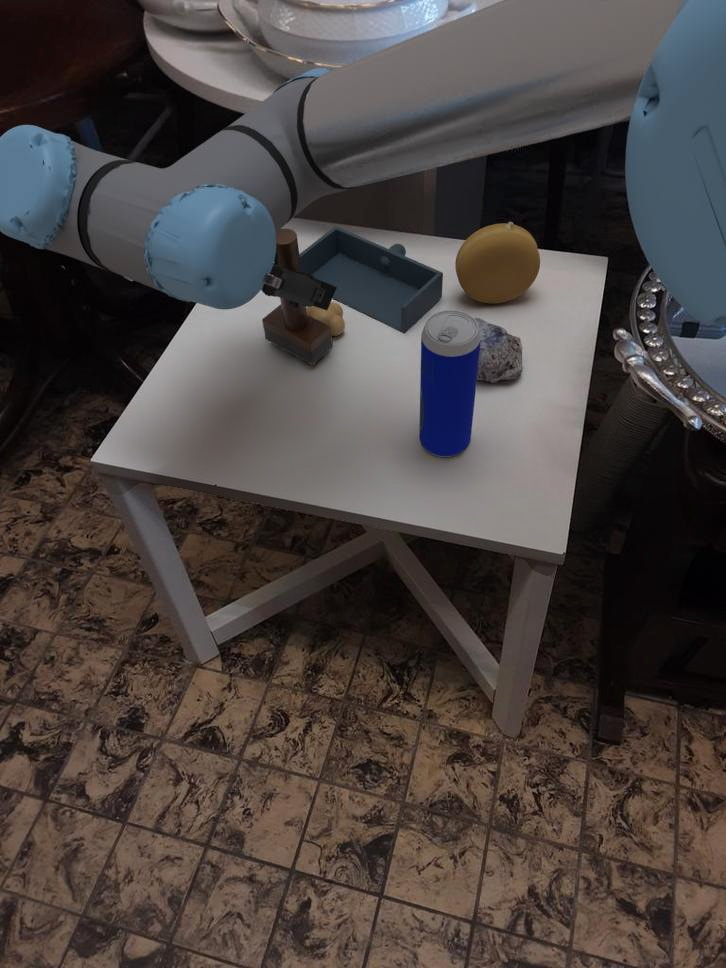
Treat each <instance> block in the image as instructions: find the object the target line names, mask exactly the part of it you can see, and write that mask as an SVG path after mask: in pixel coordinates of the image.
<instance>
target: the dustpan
mask: <svg viewBox="0 0 726 968" xmlns="http://www.w3.org/2000/svg"><path fill="white" fill-rule="evenodd" d="M406 254H407V250H406V248H405V246H404V245H403V244H401V243H394V244H393V245H391V246H390V247H389V248H388V247H385V246H383V245H380V244H378V243H375V242H374V241H371V240H369V239H367V238H364V237H362V236H361V235H357V234H356V233H352V232H350V231H349V230H345V229H344V228H342V227H339V226H337V225H335V226H334V227H332V228H331V229H330V230H328V231H327V232H326V233H324V235H322V236H321V237H319V238H318V239H317V240H315V241H314V242H313V243H312V244H310V245H309V246H308V247H306V248H305V249H303V250H302V251H301V252H299V256H300V263H301V271H303V272H305V273H308V274H310V275H312V276H314V278H316V279H319V280H321V281H324V282H326V283H329V284H331V285H333V286H335V287H337V289H336V291H335V293H334V296H333V298H332V300H335V301H337V302H339V303H342V304H343V305H346V306H348V307H349V308H351V309H354V310H356V311H358V312H360V313H362V314H364V315H366V316H368V317H370V318H372V319H374V320H376V321H378V322H380V323H382V324H385V325H387V326H388V327H391V328H393V329H395V330H397V331H399V332H401V333H403V334H406V333H407V332H408V331H409V330H410V329H411V328H412V327H413V326H414V325H416V324H417V322H418V321H419V320H421V318H423V317H424V316H425V315H426V314H427V313H428V312H429V311H430V310H431V309H432V308H433V307H434V306H435V305H437V303H439V301H440V300H441V299H442V297H443V284H444V283H443V280H444V272H442V271H440V270H438V269H435V268H433V267H431V266H429V265H426V264H424V263H422V262H419V261H417V260H415V259H413V258H410V257H408V256H406Z"/></svg>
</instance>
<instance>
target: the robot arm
mask: <svg viewBox="0 0 726 968" xmlns="http://www.w3.org/2000/svg"><path fill="white" fill-rule="evenodd" d="M625 122H628V123H629V125H628V129H627V135H626V147H625V159H624V160H625V162H624V163H625V164H624V171H625V173H624V174H625V175H624V177H625V188H626V197H627V203H628V204H627V205H628V210H629V214H630V218H631V222H632V225H633V229H634V232H635V235H636V238H637V240H638V243H639V245H640V248H641V250H642V252H643V255H644V257H645V258H646V260H647V262H648V264H649V266H650V268H651V269H652V271H653V273H654V274H655V275H656V277H657V279H658V281H660V283H661V284H662V285H663V287H664V288H665V290H666V291H667V292H668V293H669V295H671V297H672V298H673V299H674V300H675V301H676V303H678V304H679V305H680V306H681V307H682V308H683V310H685V311H686V313H688V314H690V315H691V316H692V317H693V318H694V319H696V320H697V321H698V322H699V323H700V324H701V325H703V326H705V327H711V326H712V325H713V324H714V323H715V324H719V325H721V326H724V327H726V0H500V1H498V2H495V3H492V4H490V5H487V6H485V7H483V8H480V9H477V10H476V11H473V12H471V13H468V14H466V15H463V16H460V17H458V18H456V19H453V20H451V21H449V22H447V23H444V24H441V25H439V26H437V27H434V28H432V29H429V30H426V31H424V32H422V33H420V34H419V33H418V34H417V35H414V36H412V37H409V38H408V39H404V40H402V41H400V42H398V43H395V44H393V45H390V46H388V47H385V48H382V49H380V50H378V51H375V52H373V53H371V54H369V55H365V56H364V57H361V58H359V59H356V60H354V61H351V62H348V63H346V64H343V65H342V66H338V67H337V68H334V69H327V68H325V67H318V68H313V69H309V70H307V71H306V72H303V73H302V74H300V75H298V76H295V77H293V78H290V79H289V80H288V81H286V82H284V83H282V84H281V85H279V86H278V87H277V88H275V89H274V90H273V92H272V93H271V94H270V95H269V96H267V97H266V98H265V99H263V100H262V101H261V102H259V103H258V104H257V105H256V106H254V107H252V108H251V109H250V110H249V111H247V112H246V113H244V114H243V115H242V116H240V117H239V118H237V119H236V120H235V121H233V122H232V123H231V124H229V125H228V126H225V127H224V128H223V129H221V130H220V131H219V132H217V133H216V134H214V135H212V136H211V137H210V138H208V139H207V140H205V141H204V142H202V143H201V144H200V145H198V146H197V147H196V148H194V149H193V150H191V151H190V152H188V153H187V154H186V155H184V156H182V157H181V158H180V159H178V160H176V161H175V162H174V163H173V164H171V165H170V166H168V167H163V168H160V167H156V166H153V165H148V164H146V163H141V162H138V161H134V160H130V159H126V158H123V157H119V156H116V155H112V154H108V153H106V152H102V151H99V150H96V149H92V148H90V147H88V146H85V145H84V144H83V145H82V144H80V143H78V142H75V141H74V140H72V139H71V137H70V136H67V135H65V134H63V133H56V132H53V131H50V130H48V129H45V128H42V127H40V126H37V125H32V124H22V125H18V126H17V125H16V126H14V127H12V128H10V129H9V130H7V131H6V132H4V133H3V134H2V135H1V136H0V232H1V233H2V234H3V235H5V236H7V237H9V238H12V239H14V240H17V241H20V242H23V243H26V244H29V246H30V247H34V248H35V249H38V250H47V251H52V252H54V253H57V254H62V255H64V256H67V257H70V258H73V259H74V260H75V259H76V260H78V261H81V262H84V263H86V264H88V265H90V266H93V267H97V268H99V269H101V270H104V271H107V272H112V273H115V274H117V275H120V276H122V277H123V278H124V279H125V280H126V281H129V282H137V283H140V284H142V285H145V286H147V287H150V288H152V289H154V290H156V291H160V292H162V293H165V294H166V295H167V296H168V297H172V298H173V299H177V300H179V301H181V302H188V303H190V302H191V303H194V304H199V305H203V306H206V307H210V308H212V309H217V310H233V309H237V308H240V307H242V306H244V305H246V304H247V303H249V302H250V301H252V300H253V299H254V298H255V297H256V296H257V295H258V294H259V293H260V292H262V293H263V294H264V295H265V296H267V297H274V298H275V297H276V298H279V299H280V298H283V299H287V300H290V303H289V304H290V305H292V306H294V307H296V308H298V309H299V306H300V304H303V305H304V306H306V308H307V307H308V306H309V307H312V306H315V307H318V308H321V309H324V310H328V308H329V305H330V303H331V302H332V300H333V296H334V293H335V291H336V289H337V287H335V286H333V285H331V284H329V283H326V282H324V281H321V280H319V279H316V278H314V276H312V275H310V274H308V273H305V272H303V271H302V273H301V272H299V273H296V272H294V271H291V270H289V269H286V268H284V267H282V266H279V265H277V264H274V260H275V254H276V232H277V231H279V230H280V229H283V227H285V226H286V224H288V223H289V222H290V221H292V219H294V218H295V217H296V216H297V215H298V214H300V213H301V212H302V211H304V209H305V208H307V207H308V206H309V205H310V204H311V203H313V202H315V201H316V200H318V199H320V198H322V197H324V196H328V195H333V194H336V193H340V192H344V191H349V190H353V189H357V188H359V187H362V186H367V185H370V184H375V183H378V182H383V181H387V180H391V179H395V178H398V177H399V178H400V177H403V176H407V175H411V174H416V173H418V172H423V171H427V170H432V169H436V168H440V167H444V166H448V165H453V164H457V163H460V162H461V163H462V162H465V161H469V160H473V159H477V158H480V157H485V156H488V155H493V154H497V153H501V152H505V151H509V150H513V149H514V150H515V149H517V148H521V147H525V146H530V145H535V144H538V143H543V142H547V141H550V140H554V139H559V138H563V137H567V136H571V135H575V134H578V133H584V132H587V131H592V130H596V129H600V128H604V127H608V126H613V125H616V124H620V123H625Z"/></svg>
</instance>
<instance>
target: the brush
mask: <svg viewBox="0 0 726 968" xmlns="http://www.w3.org/2000/svg"><path fill="white" fill-rule="evenodd" d="M298 242H299V241H298V235H297V232H296V231H295V230H294V229H291V228H281V229H280V230H279V231H277V232H276V254H275V260H274V264H277V265H279V266H282V267H284V268H286V269H289V270H291V271H294V272H296V273H299V272H301V273H302V271H301V263H300V256H299V254H300V250H299V249H300V248H299V243H298ZM279 300H280V304H279V305H278V306H277V307H275V308H274V309H273V310H272V311H270V312H269V313H268V314H267V315H266V316H264V317H263V318H262V319H261V321H262V327H263V332H264V337H265V340H266V341H268V342H269V343H271V344H273V345H275V346H277V347H278V348H280V349H282V350H285V351H286V352H288V353H290V354H291V355H293V356H295V357H298V358H299V359H301V360H302V361H304V362H306V363H308V364H311V365H314V364H315V363H317V362H318V361H319V360H320V359H321V358H322V357H324V356H325V355H326V354H327V353H328V352H329V351H331V349H333V347H334V345H333V336H332V333H331V326H329V325H327V324H325V323H323V322H321V321H319V320H317V319H315V318H313V317H311V316H309V315H307V310H306V308H307V307H306V306H304V305H303V304H300V306H299V309H298V308H296V307H294V306H292V305H290V304H289V303H290V300H287V299H283V298H280V297H279Z"/></svg>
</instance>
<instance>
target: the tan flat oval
mask: <svg viewBox="0 0 726 968" xmlns="http://www.w3.org/2000/svg"><path fill="white" fill-rule="evenodd" d="M454 267H455V273H456V277H457V279H458V283H459V285H460V288H461V290H463V292H464V293H465V294H466V295H467V296H468V297H470V298H471V299H473V300H475V301H477V302H479V303H483V304H500V303H505V302H509V301H512V300H514V299H516V298H518V297H520V296H521V295H523V294H524V293H525V292H526V291H527V290H528V289H530V287H531V286H532V285H533V283H534V282H535V281H536V279H537V277H538V275H539V272H540V269H541V255H540V252H539V248H538V244H537V242H536V240H535V238H534V237H533V235H532V234H531V233H530V232H529V231H528V230H526V229H525V228H524V227H522V226H519V225H517V224H514V222H512V221H508V223H505V222H504V223H494V224H491V225H487V226H485V227H484V226H483V227H482V228H480V229H478V230H476V231H475V232H473V233H472V234H471V235H469V236H468V237H467V238H466V239H465V241H464V242H463V243H462V244H461V246H460V248H459V250H458V251H457V253H456V257H455V266H454Z"/></svg>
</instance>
